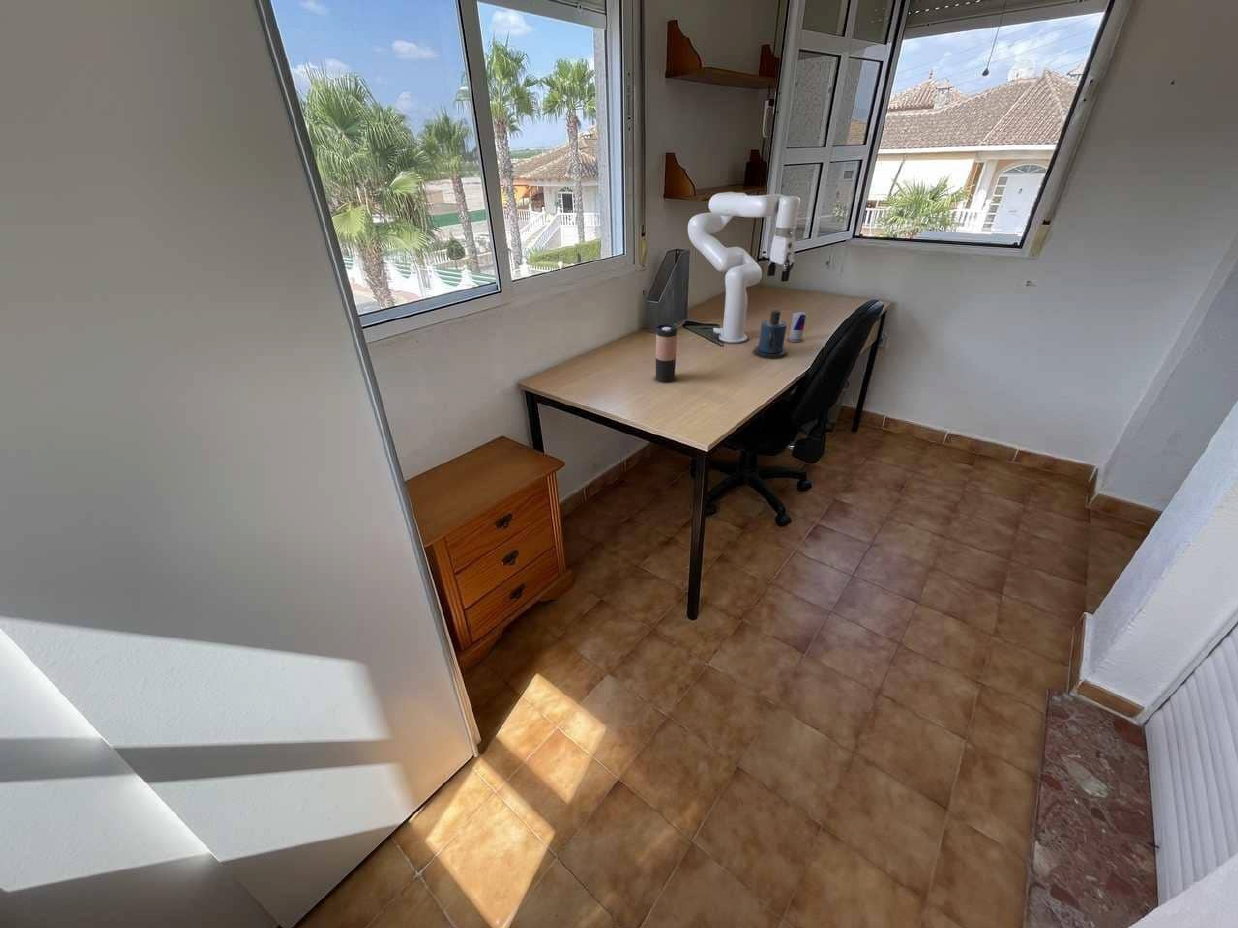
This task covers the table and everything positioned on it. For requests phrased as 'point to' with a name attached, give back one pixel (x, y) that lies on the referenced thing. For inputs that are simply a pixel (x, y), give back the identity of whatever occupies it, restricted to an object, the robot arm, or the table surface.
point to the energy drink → (797, 326)
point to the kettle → (772, 334)
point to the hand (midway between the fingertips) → (777, 278)
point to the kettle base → (769, 355)
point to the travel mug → (666, 352)
